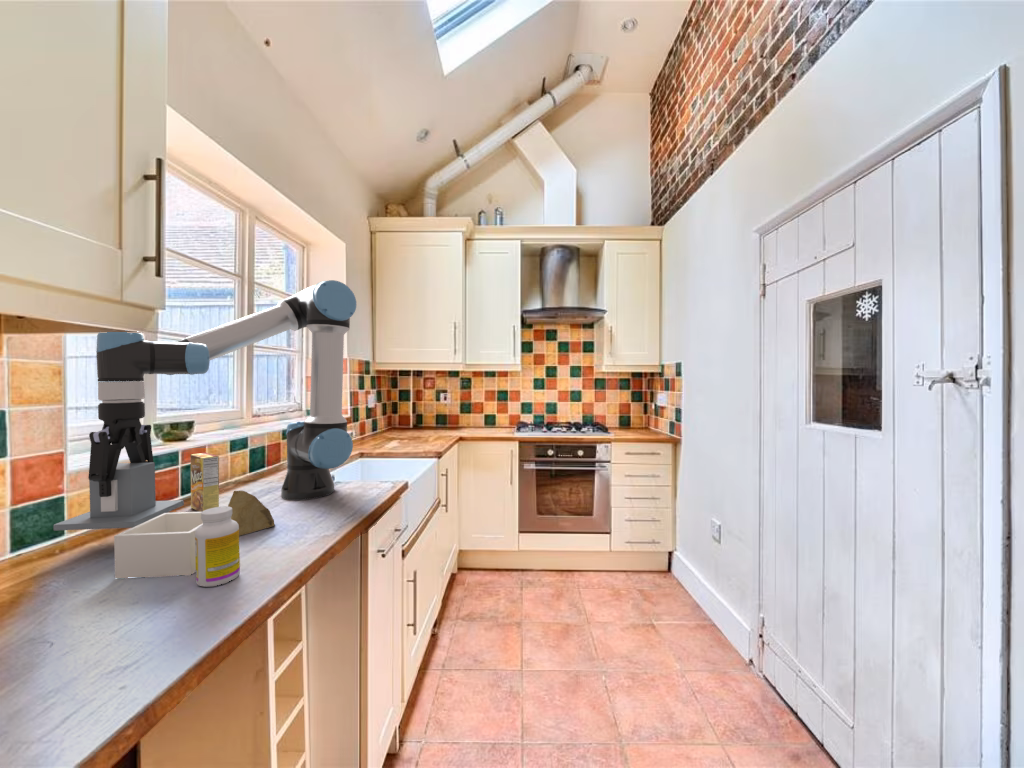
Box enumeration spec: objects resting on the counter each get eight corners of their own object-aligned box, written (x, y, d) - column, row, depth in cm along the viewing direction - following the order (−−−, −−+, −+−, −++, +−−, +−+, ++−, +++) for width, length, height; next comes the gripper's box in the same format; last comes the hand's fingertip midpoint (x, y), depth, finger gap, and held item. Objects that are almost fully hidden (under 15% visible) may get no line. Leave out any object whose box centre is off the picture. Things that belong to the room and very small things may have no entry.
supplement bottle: (248, 573, 80) (247, 506, 79) (214, 590, 73) (213, 517, 73) (221, 569, 82) (220, 503, 81) (186, 585, 75) (185, 514, 75)
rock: (282, 511, 109) (240, 508, 107) (278, 490, 104) (234, 487, 102) (266, 550, 100) (220, 547, 99) (261, 529, 95) (212, 526, 93)
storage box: (165, 549, 91) (164, 512, 91) (229, 547, 92) (229, 510, 92) (115, 578, 78) (114, 536, 78) (190, 575, 79) (189, 532, 79)
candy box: (190, 508, 119) (188, 454, 119) (207, 504, 122) (206, 452, 122) (202, 514, 114) (201, 457, 114) (220, 510, 117) (219, 455, 117)
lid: (115, 507, 100) (114, 460, 99) (183, 505, 101) (182, 458, 101) (53, 530, 85) (52, 475, 84) (134, 527, 86) (133, 473, 86)
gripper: (138, 398, 102) (140, 493, 102) (59, 404, 82) (62, 521, 83) (172, 398, 103) (174, 492, 103) (101, 404, 83) (104, 520, 83)
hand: (124, 505), depth 93 cm, fingers closed on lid, 7 cm apart
